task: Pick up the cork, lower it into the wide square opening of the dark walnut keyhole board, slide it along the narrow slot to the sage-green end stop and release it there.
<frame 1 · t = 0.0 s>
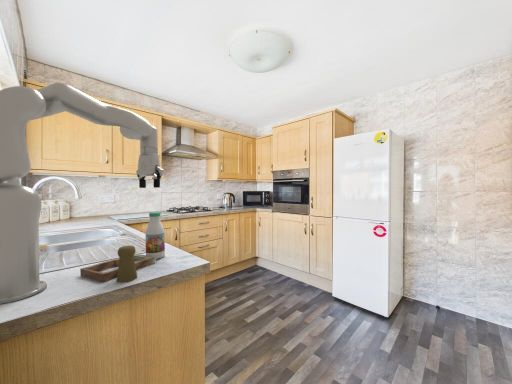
hand: (149, 187, 103), 31 cm above the counter, tool pointing down, fingers open, 9 cm apart
milk bottle: (155, 257, 95), on the counter
keyhole board: (120, 268, 81), on the counter
cork: (127, 279, 72), on the counter
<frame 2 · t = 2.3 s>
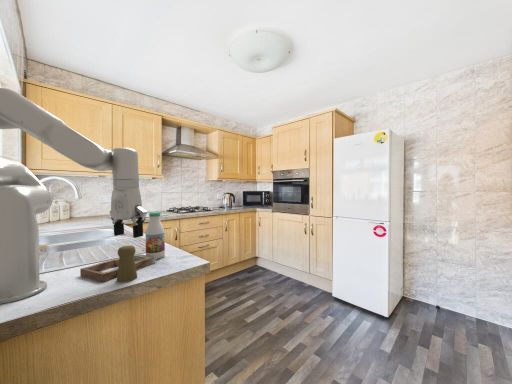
hand: (128, 235, 72), 14 cm above the counter, tool pointing down, fingers open, 9 cm apart
nothing on the counter moved.
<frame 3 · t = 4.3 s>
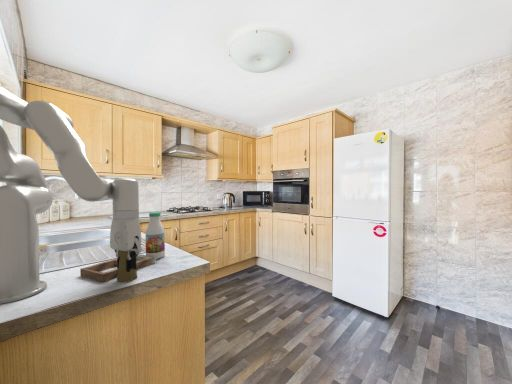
hand: (126, 268, 72), 3 cm above the counter, tool pointing down, fingers closed on cork, 3 cm apart
cork: (127, 279, 72), on the counter, touching gripper
everything else where it was.
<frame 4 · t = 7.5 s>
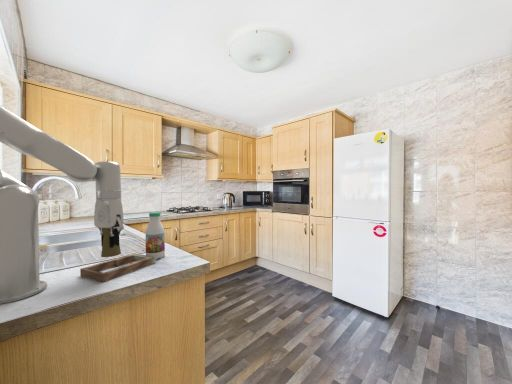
hand: (110, 245, 78), 10 cm above the counter, tool pointing down, fingers closed on cork, 3 cm apart
cork: (111, 255, 78), point 6 cm above the counter, touching gripper
everything else where it was.
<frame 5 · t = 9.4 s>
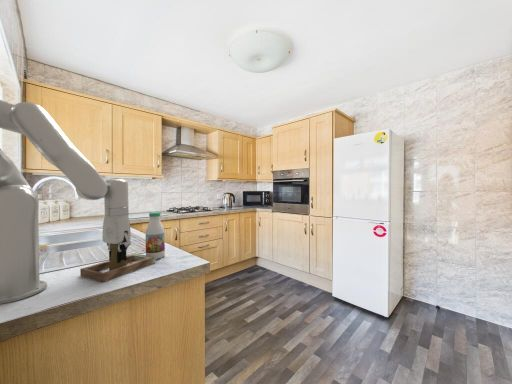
hand: (117, 260, 80), 4 cm above the counter, tool pointing down, fingers closed on cork, 3 cm apart
cork: (118, 269, 80), resting in keyhole board, touching gripper
everything else where it was.
when the fingers open (3 cm above the counter, at t = 10.8 s): cork stays where it is, resting in keyhole board.
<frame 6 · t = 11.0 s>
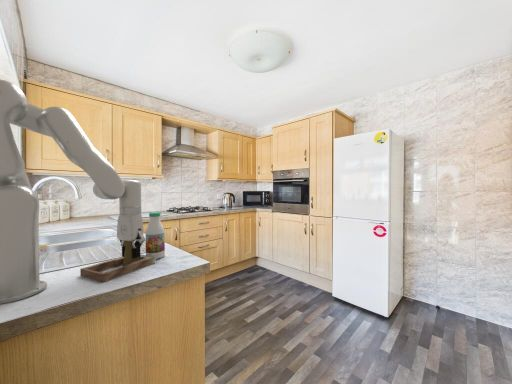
hand: (131, 256, 85), 4 cm above the counter, tool pointing down, fingers open, 5 cm apart
cork: (131, 265, 85), resting in keyhole board
everything else where it was.
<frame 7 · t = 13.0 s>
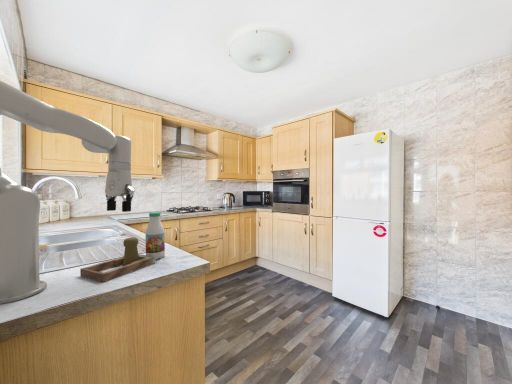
hand: (118, 211, 84), 22 cm above the counter, tool pointing down, fingers open, 9 cm apart
nothing on the counter moved.
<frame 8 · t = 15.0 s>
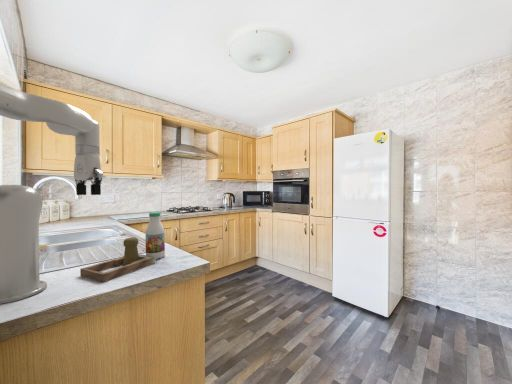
hand: (88, 194, 84), 28 cm above the counter, tool pointing down, fingers open, 9 cm apart
nothing on the counter moved.
at the end: cork 0.3 cm from the target spot on the keyhole board, point 0.0 cm above the keyhole board's base; cork tilted 0°; the gripper is holding nothing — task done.
